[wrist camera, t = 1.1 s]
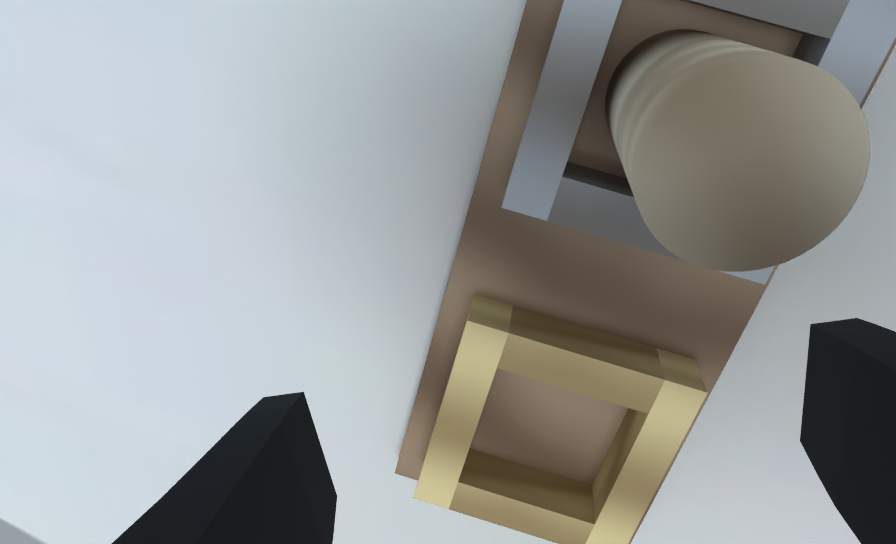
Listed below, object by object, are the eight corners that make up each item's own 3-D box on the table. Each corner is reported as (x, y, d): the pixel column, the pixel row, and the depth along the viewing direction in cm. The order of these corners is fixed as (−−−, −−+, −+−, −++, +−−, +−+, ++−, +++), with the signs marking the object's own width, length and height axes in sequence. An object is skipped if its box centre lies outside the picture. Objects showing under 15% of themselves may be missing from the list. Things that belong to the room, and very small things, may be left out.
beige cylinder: (714, 0, 18) (824, 7, 10) (767, 127, 19) (900, 214, 11) (582, 74, 19) (597, 128, 12) (638, 189, 20) (685, 303, 13)
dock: (565, -131, 18) (566, -153, 15) (918, -35, 17) (985, -40, 15) (400, 457, 27) (382, 508, 24) (626, 527, 27) (634, 588, 24)
